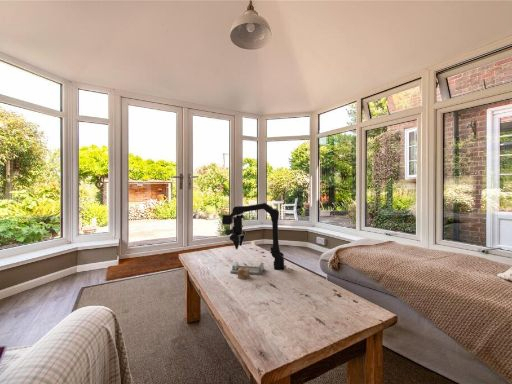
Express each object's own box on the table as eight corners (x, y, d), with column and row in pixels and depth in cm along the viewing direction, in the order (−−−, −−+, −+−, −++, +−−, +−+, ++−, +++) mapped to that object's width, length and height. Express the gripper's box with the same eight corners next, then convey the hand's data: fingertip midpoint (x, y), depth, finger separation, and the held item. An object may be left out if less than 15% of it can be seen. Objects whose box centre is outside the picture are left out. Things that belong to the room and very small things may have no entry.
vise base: (263, 268, 160) (263, 262, 160) (261, 274, 150) (260, 267, 150) (234, 267, 164) (234, 261, 164) (230, 273, 154) (230, 266, 154)
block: (249, 275, 149) (248, 268, 149) (247, 278, 144) (247, 270, 144) (239, 275, 150) (239, 267, 150) (237, 278, 146) (237, 270, 146)
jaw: (238, 266, 162) (238, 262, 162) (235, 270, 155) (235, 265, 155) (235, 266, 163) (235, 261, 162) (232, 270, 155) (232, 265, 155)
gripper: (231, 222, 174) (231, 243, 174) (221, 227, 156) (222, 250, 156) (245, 222, 171) (246, 244, 172) (238, 227, 153) (239, 251, 154)
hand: (238, 247), depth 164 cm, fingers open, 9 cm apart
